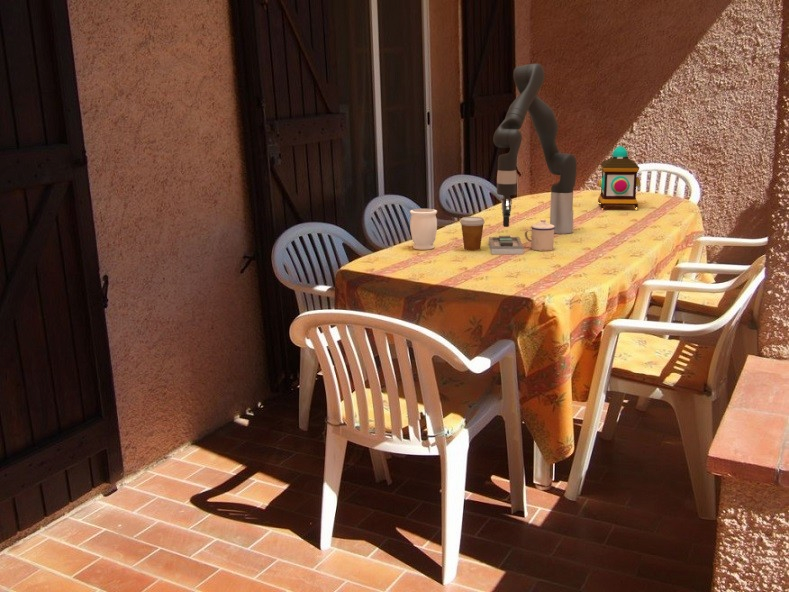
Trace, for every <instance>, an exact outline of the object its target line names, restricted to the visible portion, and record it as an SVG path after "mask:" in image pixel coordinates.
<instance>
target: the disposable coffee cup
mask: <svg viewBox="0 0 789 592" xmlns="http://www.w3.org/2000/svg"><path fill="white" fill-rule="evenodd" d="M459 222H460V225H461V232H462V242H463V243H462V244H463V249H464V250H465V251H479V250H481V246H482V239H483V238H482V237H483V233H484V232H483V230H484V225H485V220H484V217H481V216H464V217H462V218H461V219H460V221H459Z"/></svg>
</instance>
